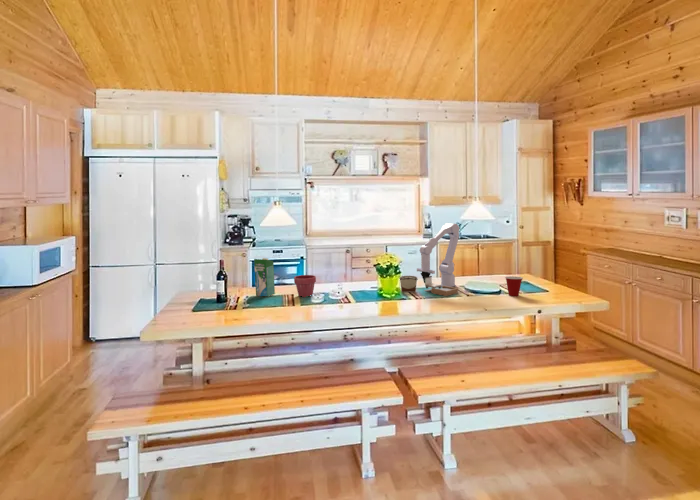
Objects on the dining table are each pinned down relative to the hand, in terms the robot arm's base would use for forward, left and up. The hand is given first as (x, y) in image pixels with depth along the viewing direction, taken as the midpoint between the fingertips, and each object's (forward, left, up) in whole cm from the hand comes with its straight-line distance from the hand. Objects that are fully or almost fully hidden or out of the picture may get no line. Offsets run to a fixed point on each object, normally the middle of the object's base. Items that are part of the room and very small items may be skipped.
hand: (425, 282), depth 327 cm
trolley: (0, +7, -3) cm, 7 cm away
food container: (+12, -5, -5) cm, 14 cm away
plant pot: (+69, -44, -5) cm, 82 cm away
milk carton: (+87, -65, -5) cm, 109 cm away
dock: (0, +12, -5) cm, 13 cm away
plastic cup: (-25, +51, -5) cm, 57 cm away
